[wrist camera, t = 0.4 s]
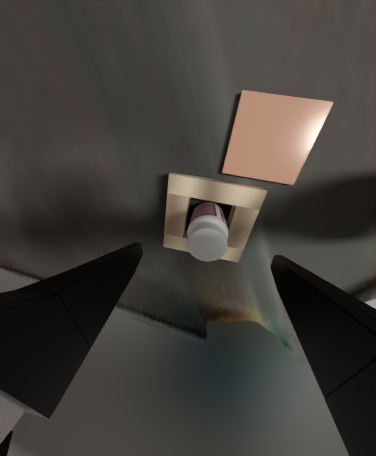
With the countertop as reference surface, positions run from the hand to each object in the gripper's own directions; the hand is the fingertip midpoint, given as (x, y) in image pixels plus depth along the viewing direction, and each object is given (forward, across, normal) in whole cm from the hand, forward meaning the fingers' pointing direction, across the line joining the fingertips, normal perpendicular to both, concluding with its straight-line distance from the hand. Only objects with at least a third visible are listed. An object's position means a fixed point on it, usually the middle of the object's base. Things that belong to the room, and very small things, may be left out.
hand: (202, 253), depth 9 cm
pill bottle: (+12, 0, +2) cm, 13 cm away
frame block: (+12, 0, +2) cm, 12 cm away
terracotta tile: (+12, -7, -8) cm, 16 cm away
